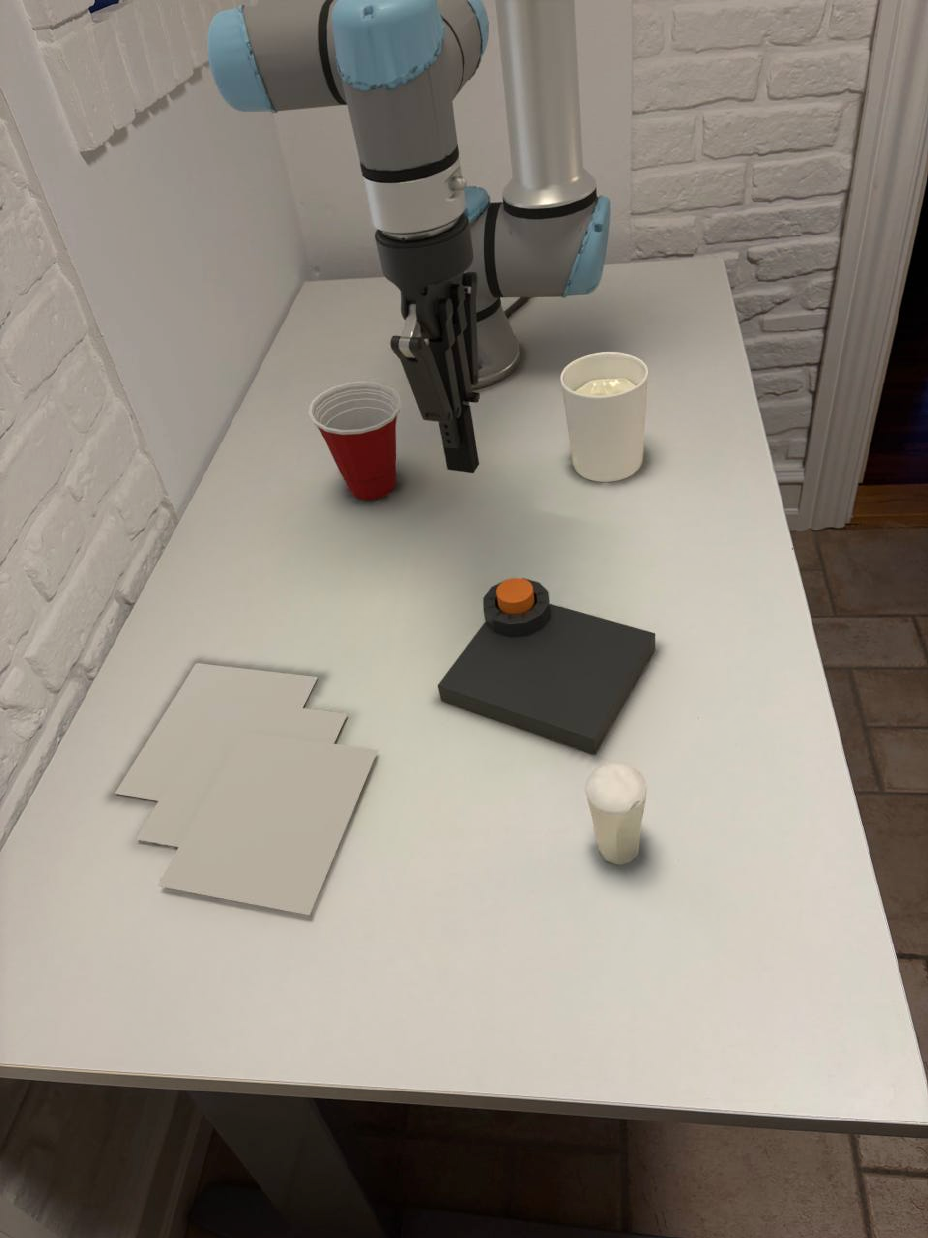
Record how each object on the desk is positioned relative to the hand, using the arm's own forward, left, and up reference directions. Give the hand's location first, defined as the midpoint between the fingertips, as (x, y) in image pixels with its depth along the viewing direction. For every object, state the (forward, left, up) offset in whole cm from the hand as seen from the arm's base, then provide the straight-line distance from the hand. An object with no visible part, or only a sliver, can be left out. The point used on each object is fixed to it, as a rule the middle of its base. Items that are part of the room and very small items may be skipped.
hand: (463, 466), depth 91 cm
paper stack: (+30, -8, -16) cm, 35 cm away
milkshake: (+23, +26, -16) cm, 39 cm away
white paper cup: (-26, +3, -16) cm, 30 cm away
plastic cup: (-12, -22, -16) cm, 30 cm away
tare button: (+4, +6, -12) cm, 14 cm away
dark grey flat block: (+8, +12, -16) cm, 22 cm away
